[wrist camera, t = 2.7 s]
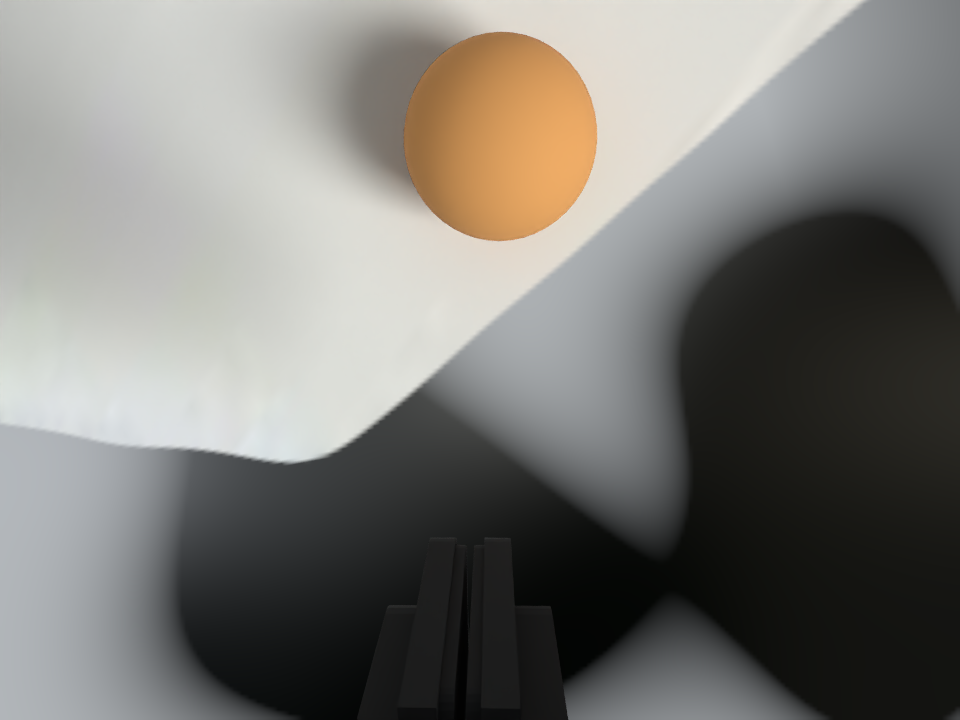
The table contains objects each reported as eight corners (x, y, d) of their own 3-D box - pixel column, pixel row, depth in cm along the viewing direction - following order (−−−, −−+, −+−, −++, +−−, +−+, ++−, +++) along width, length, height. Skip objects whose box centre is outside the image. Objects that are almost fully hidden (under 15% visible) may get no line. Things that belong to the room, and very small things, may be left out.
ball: (585, 60, 19) (621, -6, 13) (579, 235, 20) (608, 245, 15) (416, 64, 19) (377, 1, 13) (422, 237, 21) (391, 247, 15)
